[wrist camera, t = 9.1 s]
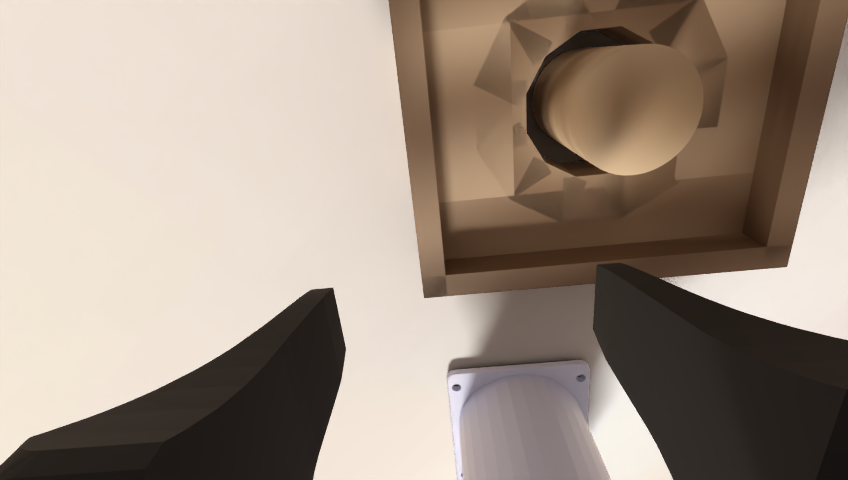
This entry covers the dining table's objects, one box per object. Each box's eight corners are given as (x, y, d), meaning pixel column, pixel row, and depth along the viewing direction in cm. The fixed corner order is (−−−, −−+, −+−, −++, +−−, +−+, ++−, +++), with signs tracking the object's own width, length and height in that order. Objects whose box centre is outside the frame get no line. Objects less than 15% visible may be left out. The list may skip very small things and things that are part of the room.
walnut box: (725, 231, 22) (787, 266, 18) (424, 258, 22) (424, 297, 19) (786, -117, 16) (892, -169, 12) (387, -66, 17) (376, -101, 13)
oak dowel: (619, 139, 20) (693, 169, 14) (532, 146, 20) (571, 180, 15) (627, 43, 18) (713, 37, 13) (532, 53, 19) (576, 50, 13)
